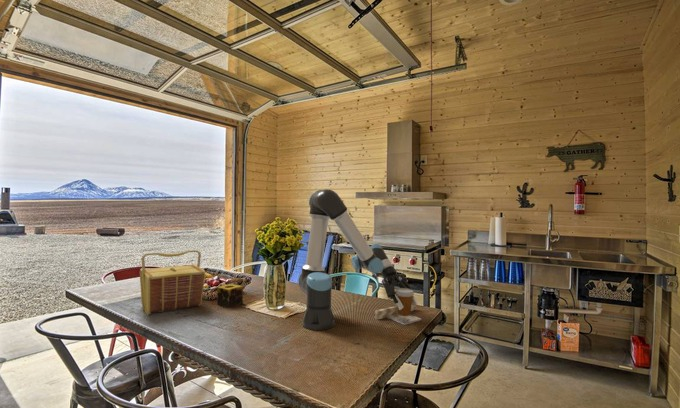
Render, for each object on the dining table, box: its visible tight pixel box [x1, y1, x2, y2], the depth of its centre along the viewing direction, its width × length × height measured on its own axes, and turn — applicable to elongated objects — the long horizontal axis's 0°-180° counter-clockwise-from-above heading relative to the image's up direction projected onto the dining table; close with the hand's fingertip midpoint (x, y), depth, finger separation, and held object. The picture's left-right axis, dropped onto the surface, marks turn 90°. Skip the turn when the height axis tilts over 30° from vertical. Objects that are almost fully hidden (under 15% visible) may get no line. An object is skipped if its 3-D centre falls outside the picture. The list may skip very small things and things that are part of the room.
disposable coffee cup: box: [395, 287, 415, 316], centre depth 163 cm, size 10×10×12 cm
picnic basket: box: [139, 249, 206, 315], centre depth 175 cm, size 29×26×30 cm
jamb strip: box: [374, 305, 416, 320], centre depth 170 cm, size 28×2×4 cm, turn 126°
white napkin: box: [386, 314, 422, 326], centre depth 163 cm, size 12×12×1 cm
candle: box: [216, 283, 244, 308], centre depth 183 cm, size 10×10×10 cm
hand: (408, 306), depth 161 cm, fingers closed on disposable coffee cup, 9 cm apart
